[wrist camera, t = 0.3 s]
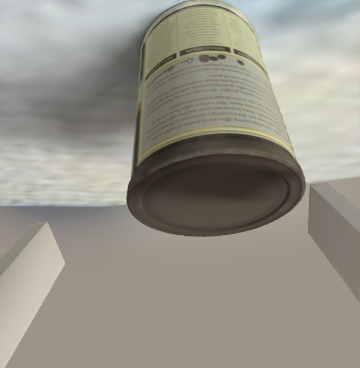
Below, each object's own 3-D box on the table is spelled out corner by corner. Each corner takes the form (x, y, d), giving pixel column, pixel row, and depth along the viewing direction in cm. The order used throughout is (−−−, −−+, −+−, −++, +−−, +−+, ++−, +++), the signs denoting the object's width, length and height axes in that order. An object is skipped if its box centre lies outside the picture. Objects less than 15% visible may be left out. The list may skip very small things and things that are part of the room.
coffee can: (274, 76, 25) (320, 215, 17) (180, 121, 29) (185, 246, 22) (229, -39, 17) (277, 117, 10) (113, 45, 22) (85, 196, 14)
